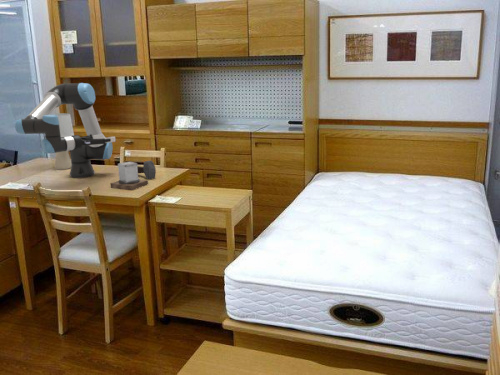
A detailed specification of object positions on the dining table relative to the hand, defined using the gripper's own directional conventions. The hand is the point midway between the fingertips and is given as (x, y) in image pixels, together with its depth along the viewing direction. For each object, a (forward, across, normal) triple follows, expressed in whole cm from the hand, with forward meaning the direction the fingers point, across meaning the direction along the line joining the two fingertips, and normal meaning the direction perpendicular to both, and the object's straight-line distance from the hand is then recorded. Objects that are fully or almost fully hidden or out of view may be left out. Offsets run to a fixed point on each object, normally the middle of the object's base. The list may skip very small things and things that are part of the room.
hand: (109, 137), depth 276 cm
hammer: (+27, -19, -30) cm, 45 cm away
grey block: (+10, 0, -26) cm, 28 cm away
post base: (+10, 0, -30) cm, 31 cm away
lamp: (+4, -81, -30) cm, 86 cm away
